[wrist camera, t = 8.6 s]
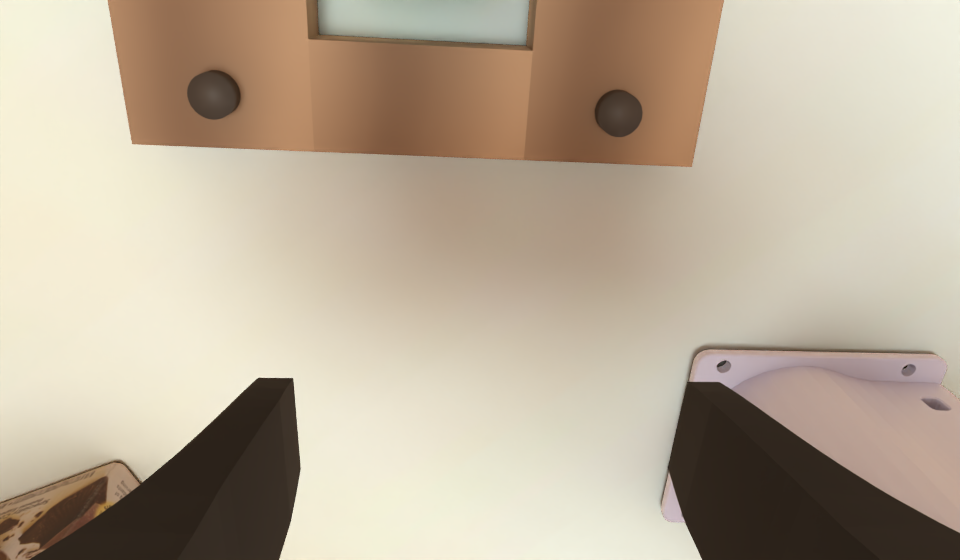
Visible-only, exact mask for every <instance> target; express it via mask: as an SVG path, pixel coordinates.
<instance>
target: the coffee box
mask: <svg viewBox="0 0 960 560" xmlns="http://www.w3.org/2000/svg"><path fill="white" fill-rule="evenodd" d="M139 485H140V484H139V483H138V481H137V480H136V479H135V478H134V476H133V475H132V474H131V473H130V471H129V470H128V469H127V468H126V467H125V465H123V464H121V463H115V462H114V463H111V464H108V465H105V466H102V467H99V468H96V469H94V470H91V471H88V472H86V473H83V474H80V475H77V476H75V477H72V478H69V479H67V480H64V481H61V482H59V483H56V484H53V485H50V486H48V487H45V488H42V489H39V490H37V491H34V492H31V493H28V494H26V495H23V496H20V497H17V498H15V499H12V500H9V501H6V502H4V503H1V504H0V560H29V559H31V558H32V557H34V556H36V555H37V554H39V553H40V552H42V551H44V550H45V549H47V548H49V547H50V546H52V545H54V544H55V543H57V542H58V541H60V540H62V539H63V538H65V537H67V536H68V535H70V534H71V533H73V532H74V531H76V530H77V529H79V528H81V527H82V526H84V525H85V524H86V523H88V522H89V521H91V520H92V519H94V518H95V517H96V516H98V515H99V514H101V513H102V512H104V511H105V510H107V509H108V508H109V507H111V506H112V505H114V504H115V503H116V502H118V501H119V500H120V499H122V498H123V497H124V496H126V495H127V494H129V493H130V492H131V491H132V490H134V489H135V488H136V487H138V486H139Z"/></svg>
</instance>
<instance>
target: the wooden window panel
mask: <svg viewBox="0 0 960 560" xmlns="http://www.w3.org/2000/svg"><path fill="white" fill-rule="evenodd" d="M723 2H724V0H530V2H529V14H528V27H527V40H526V46H523V45H503V44H484V43H465V42H446V41H427V40H408V39H389V38H370V37H351V36H332V35H319V30H318V8H317V0H108V5H109V11H110V17H111V22H112V28H113V34H114V40H115V46H116V52H117V58H118V64H119V69H120V75H121V81H122V87H123V93H124V99H125V105H126V110H127V116H128V122H129V128H130V134H131V140H132V144H142V145H166V146H191V147H216V148H240V149H265V150H290V151H314V152H339V153H364V154H388V155H413V156H438V157H462V158H487V159H512V160H536V161H561V162H585V163H610V164H635V165H659V166H684V167H692V163H693V158H694V152H695V147H696V142H697V137H698V132H699V126H700V121H701V116H702V111H703V106H704V101H705V95H706V90H707V85H708V80H709V75H710V69H711V64H712V59H713V54H714V49H715V44H716V38H717V33H718V28H719V23H720V18H721V12H722V7H723Z"/></svg>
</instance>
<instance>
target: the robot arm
mask: <svg viewBox="0 0 960 560" xmlns="http://www.w3.org/2000/svg"><path fill="white" fill-rule="evenodd" d="M725 360H726V361H727V362H726V363H725V365H723V366H721V367H717V365H718V363H720V362H721V361H725ZM906 365H908V366H907V368H905V369H904V370H902V369H903V368H904V367H905V366H906ZM946 370H947V363H946V362H945V361H944V360H943V359H942V358H940V357H939V356H938V355H934V354H900V353H852V352H805V351H758V350H704V351H702V352H700V353H699V354H698V355H697V356H696V357H695V359H694V361H693V366H692V370H691V375H690V379H689V382H687V386H686V391H685V395H684V399H683V404H682V408H681V413H680V417H679V421H678V426H677V430H676V435H675V439H674V443H673V448H672V452H671V457H670V461H669V465H668V470H669V473H668V478H667V482H666V487H665V491H664V496H663V500H662V505H661V512H662V514H663V517H664V518H665V520H667V521H669V522H685V523H686V525H687V527H688V529H689V532H690V534H691V536H692V538H693V540H694V542H695V545H696V547H697V549H698V551H699V553H700V556H701V558H702V560H960V400H959V399H958V398H957V397H956V396H955V395H953V394H952V393H951V392H950V391H948V390H947V389H946V388H945V387H943V386H942V385H941V382H942V380H943V377H944V375H945V373H946ZM300 469H301V468H300V456H299V444H298V432H297V419H296V407H295V395H294V383H293V378H258V379H256V380H255V381H254V382H253V383H252V384H251V385H250V386H249V387H248V388H247V389H246V390H244V391H243V392H242V393H241V394H240V395H239V396H238V397H237V398H236V399H235V400H234V401H233V402H232V403H231V404H230V405H229V406H228V407H227V408H226V409H225V410H224V411H223V412H222V413H221V414H220V415H219V416H218V417H217V418H216V419H214V420H213V421H212V422H211V423H210V424H209V425H208V426H207V427H206V428H205V429H204V430H203V431H202V432H201V433H199V434H198V435H197V436H196V437H195V438H194V439H193V440H192V441H191V442H190V443H188V444H187V445H186V446H185V447H184V448H183V449H182V450H181V451H180V452H179V453H177V454H176V455H175V456H174V457H173V458H172V459H170V460H169V461H168V462H167V463H166V464H164V465H163V466H162V467H161V468H160V469H158V470H157V471H156V472H155V473H154V474H152V475H151V476H150V477H149V478H148V479H146V480H145V481H144V482H143V483H142V484H140V485H139V486H138V487H136V488H135V489H134V490H132V491H131V492H130V493H129V494H127V495H126V496H124V497H123V498H122V499H120V500H119V501H118V502H116V503H115V504H114V505H112V506H111V507H109V508H108V509H107V510H105V511H104V512H102V513H101V514H99V515H98V516H96V517H95V518H94V519H92V520H91V521H89V522H88V523H86V524H85V525H84V526H82V527H81V528H79V529H77V530H76V531H74V532H73V533H71V534H70V535H68V536H67V537H65V538H63V539H62V540H60V541H58V542H57V543H55V544H54V545H52V546H50V547H49V548H47V549H45V550H44V551H42V552H40V553H39V554H37V555H36V556H34V557H32V558H31V559H29V560H279V558H280V554H281V551H282V548H283V545H284V542H285V538H286V535H287V532H288V529H289V525H290V522H291V518H292V513H293V507H294V502H295V497H296V492H297V486H298V480H299V475H300Z"/></svg>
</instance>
